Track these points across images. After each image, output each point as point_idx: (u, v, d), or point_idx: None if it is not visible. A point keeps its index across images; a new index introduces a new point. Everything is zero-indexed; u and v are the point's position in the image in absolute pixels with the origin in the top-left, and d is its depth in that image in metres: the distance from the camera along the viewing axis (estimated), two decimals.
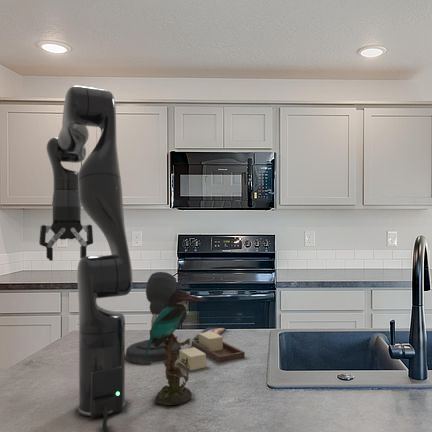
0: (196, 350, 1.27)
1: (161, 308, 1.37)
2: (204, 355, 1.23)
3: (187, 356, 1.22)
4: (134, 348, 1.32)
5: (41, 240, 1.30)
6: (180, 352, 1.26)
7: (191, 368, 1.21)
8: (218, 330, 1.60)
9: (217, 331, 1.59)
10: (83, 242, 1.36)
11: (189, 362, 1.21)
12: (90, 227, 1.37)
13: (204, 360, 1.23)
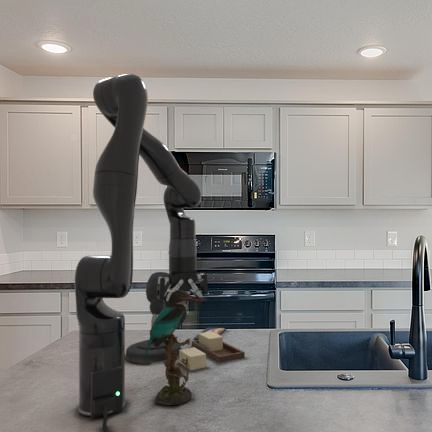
0: (196, 350, 1.27)
1: (161, 308, 1.37)
2: (204, 355, 1.23)
3: (187, 356, 1.22)
4: (134, 348, 1.32)
5: (160, 294, 1.21)
6: (180, 352, 1.26)
7: (191, 368, 1.21)
8: (218, 330, 1.60)
9: (217, 331, 1.59)
10: (199, 293, 1.28)
11: (189, 362, 1.21)
12: (205, 276, 1.29)
13: (204, 360, 1.23)
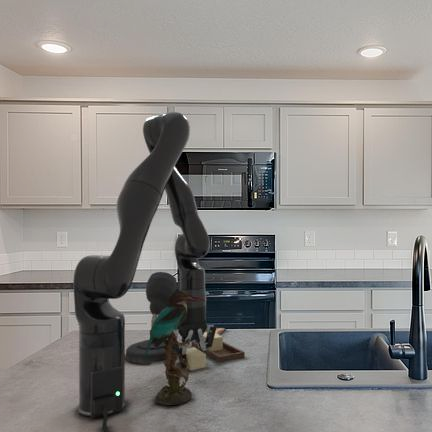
0: (196, 350, 1.27)
1: (161, 308, 1.37)
2: (204, 355, 1.23)
3: (187, 356, 1.22)
4: (134, 348, 1.32)
5: (175, 348, 1.21)
6: None
7: (191, 368, 1.21)
8: (218, 330, 1.60)
9: (217, 331, 1.59)
10: (203, 346, 1.26)
11: (189, 362, 1.21)
12: (214, 329, 1.28)
13: (204, 360, 1.23)
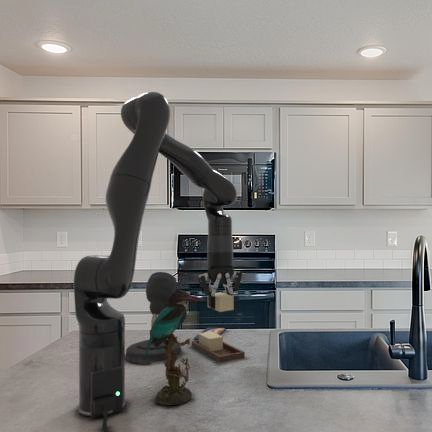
0: (223, 294, 1.34)
1: (161, 308, 1.37)
2: (232, 297, 1.31)
3: (216, 298, 1.30)
4: (134, 348, 1.32)
5: (205, 290, 1.29)
6: None
7: (220, 308, 1.29)
8: (218, 330, 1.60)
9: (217, 331, 1.59)
10: (230, 290, 1.34)
11: (218, 303, 1.29)
12: (240, 274, 1.36)
13: (232, 302, 1.31)
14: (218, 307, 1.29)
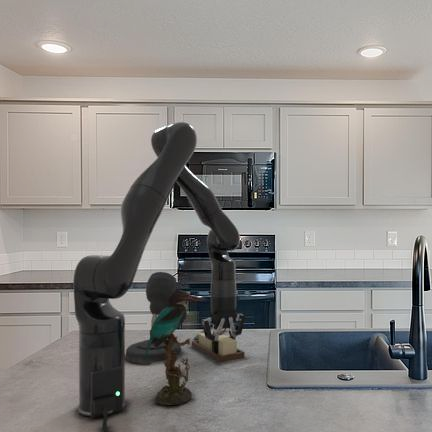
0: (227, 337, 1.35)
1: (161, 308, 1.37)
2: (235, 341, 1.32)
3: (219, 342, 1.31)
4: (134, 348, 1.32)
5: (208, 335, 1.30)
6: None
7: (223, 353, 1.29)
8: None
9: None
10: (234, 334, 1.34)
11: (221, 348, 1.30)
12: (243, 318, 1.36)
13: (235, 346, 1.32)
14: (221, 352, 1.30)
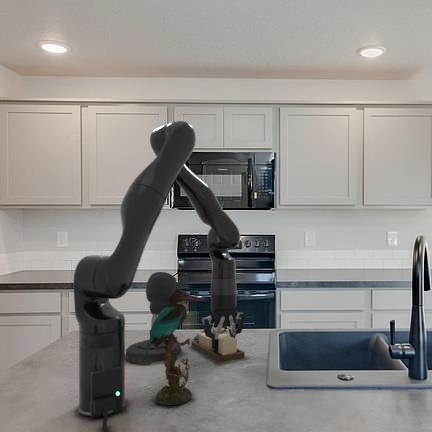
0: (227, 336, 1.35)
1: (161, 308, 1.37)
2: (235, 340, 1.31)
3: (219, 341, 1.31)
4: (134, 348, 1.32)
5: (208, 333, 1.30)
6: None
7: (223, 352, 1.29)
8: None
9: None
10: (233, 332, 1.34)
11: (221, 346, 1.30)
12: (243, 316, 1.36)
13: (235, 345, 1.31)
14: (221, 350, 1.30)
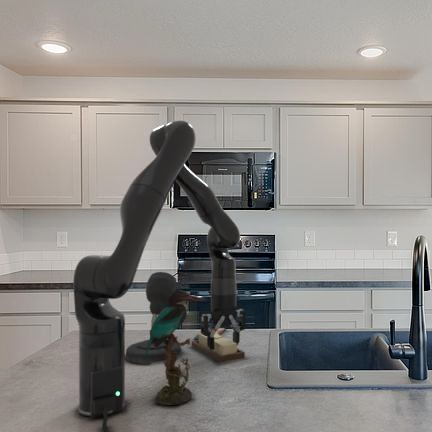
0: (227, 340, 1.35)
1: (161, 308, 1.37)
2: (235, 344, 1.31)
3: (219, 345, 1.31)
4: (134, 348, 1.32)
5: (204, 331, 1.29)
6: None
7: None
8: (218, 330, 1.60)
9: (217, 331, 1.59)
10: (237, 329, 1.35)
11: (221, 351, 1.30)
12: (244, 313, 1.36)
13: (235, 349, 1.31)
14: (221, 355, 1.30)
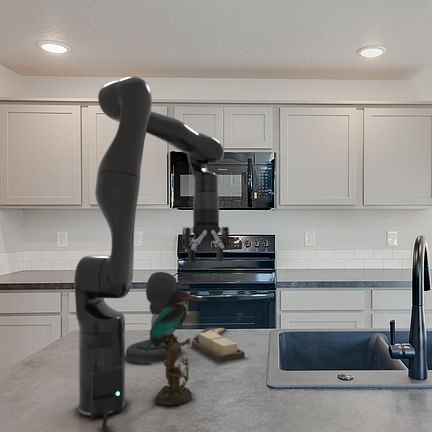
0: (227, 340, 1.35)
1: (161, 308, 1.37)
2: (235, 344, 1.31)
3: (219, 345, 1.31)
4: (134, 348, 1.32)
5: (185, 242, 1.29)
6: (212, 342, 1.35)
7: None
8: (218, 330, 1.60)
9: (217, 331, 1.59)
10: (221, 245, 1.36)
11: (221, 351, 1.30)
12: (227, 229, 1.37)
13: (235, 349, 1.31)
14: (221, 355, 1.30)
